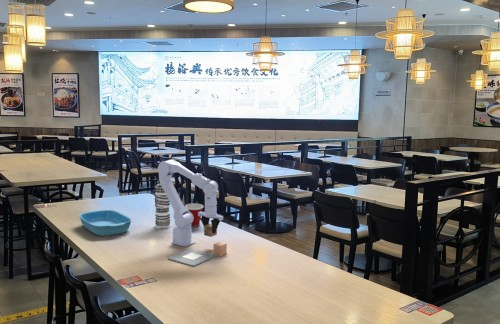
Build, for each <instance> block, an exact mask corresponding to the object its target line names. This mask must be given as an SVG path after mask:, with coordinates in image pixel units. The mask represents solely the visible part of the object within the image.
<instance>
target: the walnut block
mask: <svg viewBox="0 0 500 324" xmlns="http://www.w3.org/2000/svg"><path fill="white" fill-rule="evenodd" d="M217 233H218V230H217V231H216V233H213V232H212V223H209V224H207V225H204V226H203V236H206V237H211V238H212V237H214V236H217Z"/></svg>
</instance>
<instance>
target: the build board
mask: <svg viewBox="0 0 500 324" xmlns="http://www.w3.org/2000/svg"><path fill="white" fill-rule="evenodd" d="M216 257H217V255H215V254H213V253H209V252H206V251H203V250H199V249H194V248H189V249H186V250H184V251H182V252H179V253H177V254H173V255H172V256H169V257H167V260H169V261H171V262H177V263H180V264H183V265H187V266H189V267H193V268H194V267H196V266H199V265H201V264H202V263H205V262H207V261H210V260H212V259H214V258H216Z"/></svg>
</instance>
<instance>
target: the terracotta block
mask: <svg viewBox="0 0 500 324" xmlns="http://www.w3.org/2000/svg"><path fill="white" fill-rule="evenodd" d="M227 247H228V244H227V243H226V242H223V241H217V242H215V243H214V244H213V249H212V250H213V253H212V254H214V255H216V256H219V257H222V256H223V255H227Z"/></svg>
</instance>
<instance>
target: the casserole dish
mask: <svg viewBox="0 0 500 324" xmlns="http://www.w3.org/2000/svg"><path fill="white" fill-rule="evenodd" d="M78 216H79V220H80V222H81V224H82V227H85V228H86V229H88V231H90V232H91V233H93V234H95V235H96V236H98V237H106V236H113V235H118V234H123V233H125V232H127V231H128V230H129V229H130V227H131V222H132V218H130V217H128V216H127V215H125V214H123V213H120V212H119V211H116V210H113V209H103V210H102V209H97V210H90V211H87V212H83V213H80V214H79V215H78Z"/></svg>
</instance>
